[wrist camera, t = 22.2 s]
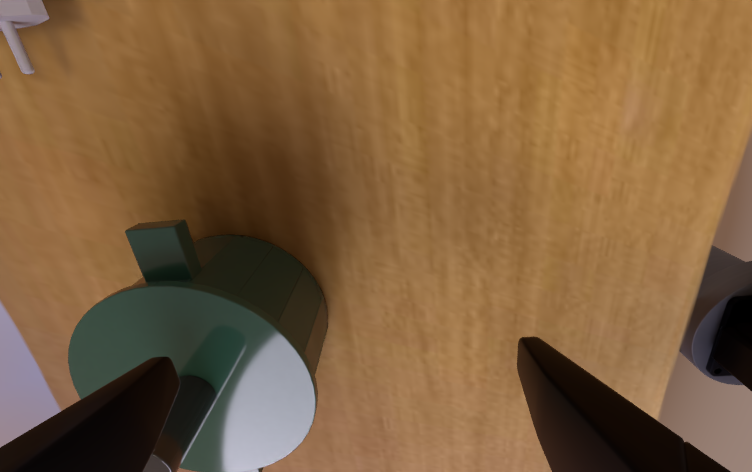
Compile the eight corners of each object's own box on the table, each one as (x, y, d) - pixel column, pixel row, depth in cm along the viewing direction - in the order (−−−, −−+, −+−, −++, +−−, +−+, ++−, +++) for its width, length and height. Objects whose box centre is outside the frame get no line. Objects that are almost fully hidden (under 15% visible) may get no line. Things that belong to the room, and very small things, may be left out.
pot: (303, 184, 21) (269, 223, 15) (344, 399, 27) (331, 486, 21) (117, 201, 22) (15, 245, 16) (199, 405, 28) (149, 490, 22)
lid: (296, 264, 16) (257, 337, 12) (336, 452, 21) (320, 557, 16) (42, 283, 17) (-89, 357, 13) (136, 458, 22) (67, 559, 17)
